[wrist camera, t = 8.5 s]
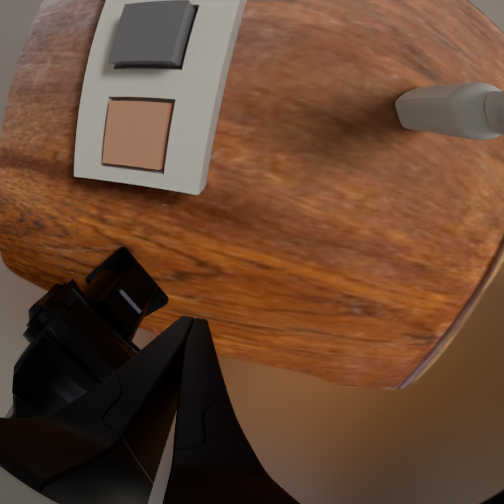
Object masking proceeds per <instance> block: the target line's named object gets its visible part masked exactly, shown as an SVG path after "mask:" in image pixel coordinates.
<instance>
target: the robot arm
mask: <svg viewBox="0 0 504 504" xmlns="http://www.w3.org/2000/svg"><path fill="white" fill-rule="evenodd" d="M122 252H123V253H124V254H125V255H123V254H122ZM90 280H91V281H90ZM86 283H87V284H88V286H87V287H86V288H85V290H84V291H83V292H82V291H81V290H80V289H79V288H78V286H77V283H76V282H75V281H74V280H73V279H72V280H71V281H70V282H69V283H68V284H66V283H64V284H63V285H61V284H57V283H56V284H55V285H54V286H53V287H52V288H51V289H50V291H49V292H48V293H47V294H46V295H44V296H43V297H42V298H41V299H40V300H38V301H37V302H36V303H35V304H34V305H33V306H32V307H31V308H30V310H29V323H28V324H27V325H26V326H27V327H28V329H27V330H26V331H25V333H24V334H23V336H24V337H25V338H26V339H27V341H29V342H30V344H29V345H28V346H27V348H26V349H25V350H24V351H23V353H22V354H21V356H20V358H19V360H18V361H17V363H16V364H15V366H14V377H13V388H12V393H13V405H12V407H11V408H10V410H9V411H8V413H7V414H6V416H5V417H4V418H0V504H148V501H149V497H150V494H151V491H152V487H153V483H154V480H155V477H156V474H157V471H158V467H159V464H160V461H161V458H162V454H163V451H164V448H165V445H166V442H167V439H168V435H169V432H170V429H171V426H172V423H173V420H174V417H175V414H176V411H177V414H176V424H175V435H174V446H173V458H172V467H171V471H170V475H169V480H168V484H167V488H166V492H165V496H164V500H163V504H300V503H299V502H298V501H296V500H295V499H294V498H293V497H292V496H291V495H289V494H288V493H287V492H286V491H285V490H284V489H283V488H281V487H280V486H279V485H278V484H277V483H276V482H275V481H274V480H273V479H272V478H271V477H270V476H269V475H268V473H267V472H266V471H265V469H264V468H263V466H262V465H261V463H260V461H259V460H258V458H257V456H256V455H255V453H254V451H253V449H252V447H251V446H250V444H249V442H248V440H247V438H246V436H245V434H244V433H243V431H242V429H241V426H240V424H239V422H238V420H237V418H236V415H235V413H234V410H233V407H232V404H231V401H230V398H229V395H228V392H227V389H226V385H225V382H224V379H223V375H222V372H221V368H220V365H219V362H218V358H217V354H216V351H215V347H214V343H213V340H212V336H211V332H210V328H209V324H208V321H207V320H206V319H201V318H195V319H194V318H193V317H188V316H182V317H180V318H179V319H178V320H177V321H175V322H174V323H173V324H172V325H171V326H169V327H168V328H167V329H166V330H165V331H163V332H162V333H161V334H160V335H159V336H157V337H156V338H155V339H154V340H153V341H151V342H150V343H149V344H148V345H146V346H145V347H144V348H143V349H142V350H140V349H139V348H138V347H137V346H136V345H135V344H134V343H133V342H132V339H133V337H134V335H135V333H136V331H137V330H138V328H139V326H140V324H141V322H142V320H143V318H144V317H145V316H147V315H149V314H151V313H152V312H154V311H156V310H158V309H159V308H161V307H163V306H165V305H166V304H167V303H168V300H169V299H168V297H167V295H166V294H165V293H164V292H163V291H162V290H161V289H160V287H159V286H158V285H157V284H156V283H155V281H154V280H153V279H152V278H151V277H150V276H149V274H148V273H147V272H146V271H145V270H144V269H143V267H142V266H141V265H140V264H139V263H138V262H137V260H136V259H135V258H134V257H133V256H132V254H131V253H130V252H129V251H128V249H126V248H125V247H121V248H120V249H119V250H117V251H116V252H115V253H114V254H113V255H111V256H110V257H109V258H108V259H107V260H106V261H104V262H103V263H102V264H101V265H100V266H99V267H97V268H96V269H95V270H94V271H93V272H92V273H91V274H89V275H88V276H87V277H86ZM161 299H164V300H165V301H163V300H161ZM479 504H504V489H503V490H502V491H500V492H498V493H497V494H495V495H493V496H492V497H490V498H488V499H487V500H485V501H483V502H481V503H479Z"/></svg>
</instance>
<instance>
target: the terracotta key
mask: <svg viewBox="0 0 504 504" xmlns="http://www.w3.org/2000/svg"><path fill="white" fill-rule="evenodd" d="M174 105H175V104H171V103H160V102H144V101H110V102H109V109H108V115H107V123H106V131H105V140H104V150H103V163H108V164H117V165H125V166H133V167H141V168H148V169H156V170H160V169H162V168H164V167H165V161H166V154H167V147H168V140H169V134H170V128H171V122H172V116H173V110H174Z"/></svg>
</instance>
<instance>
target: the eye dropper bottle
mask: <svg viewBox="0 0 504 504" xmlns="http://www.w3.org/2000/svg"><path fill="white" fill-rule="evenodd" d="M395 108H396V111H397V114H398V117H399V120H400V123H401V125H402V126H403V127H404V128H406V129H410V130H416V131H423V132H430V133H437V134H443V135H449V136H454V137H460V138H466V139H472V140H489V139H493V138H496V137H498V136H500V135H504V91H501V90H499V89H498V88H496V87H494V86H492V85H490V84H486V83H480V82H472V83H456V84H445V85H435V86H427V87H419V88H415V89H412V90H410V91H408V92H406V93H404V94H403V95H401V96H400V97H399V98H398V99H397V100H396V102H395Z"/></svg>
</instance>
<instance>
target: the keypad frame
mask: <svg viewBox="0 0 504 504" xmlns="http://www.w3.org/2000/svg"><path fill="white" fill-rule="evenodd" d="M152 1H170V0H106V2H105V4H104V7H103V10H102V13H101V16H100V19H99V22H98V25H97V29H96V32H95V35H94V39H93V43H92V46H91V50H90V54H89V59H88V63H87V67H86V72H85V77H84V82H83V88H82V94H81V100H80V107H79V114H78V122H77V132H76V143H75V159H74V177H82V178H90V179H98V180H105V181H113V182H120V183H127V184H133V185H140V186H146V187H153V188H159V189H165V190H171V191H177V192H183V193H188V194H194V195H199V194H200V193H201V191H202V190H203V189H204V188H205V187H206V182H207V176H208V170H209V164H210V159H211V153H212V147H213V142H214V137H215V132H216V126H217V121H218V116H219V112H220V107H221V102H222V97H223V93H224V88H225V84H226V79H227V75H228V71H229V66H230V62H231V58H232V54H233V50H234V46H235V42H236V38H237V34H238V31H239V27H240V23H241V19H242V16H243V12H244V9H245V5H246V2H247V0H189V1H190V3H191V4H192V6H193V7H194V9H195V10H196V13H195V16H194V19H193V23H192V26H191V30H190V33H189V37H188V41H187V45H186V48H185V52H184V56H183V61H182V65H181V67H169V66H119V65H116V64H113V63H110V62H108V61H109V57H110V52H111V49H112V45H113V41H114V37H115V34H116V30H117V27H118V24H119V21H120V17H121V14H122V11H123V8H124V6H125V4H131V3H140V2H152ZM110 101H144V102H160V103H171V104H175V105H174V110H173V116H172V122H171V128H170V134H169V140H168V147H167V154H166V161H165V167H164V168H162V169H160V170H156V169H148V168H141V167H133V166H125V165H117V164H108V163H103V150H104V140H105V131H106V123H107V115H108V109H109V102H110Z"/></svg>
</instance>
